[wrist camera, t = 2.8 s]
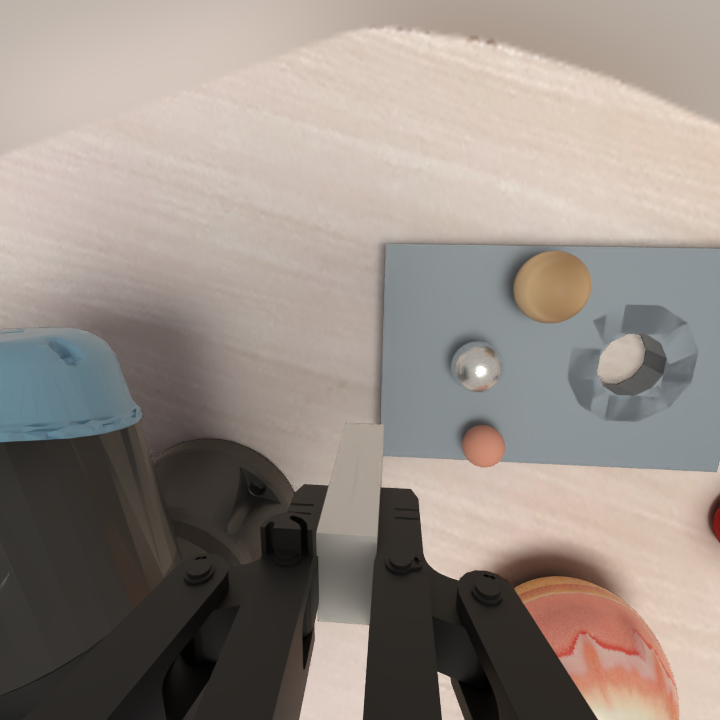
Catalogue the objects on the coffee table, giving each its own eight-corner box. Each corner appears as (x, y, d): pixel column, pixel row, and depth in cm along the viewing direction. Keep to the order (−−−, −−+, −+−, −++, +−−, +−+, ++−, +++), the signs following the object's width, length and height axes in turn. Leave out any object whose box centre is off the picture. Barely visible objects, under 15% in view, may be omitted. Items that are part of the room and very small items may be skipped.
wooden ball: (502, 315, 30) (520, 328, 25) (509, 249, 29) (529, 251, 24) (568, 317, 29) (598, 331, 25) (578, 250, 28) (612, 252, 24)
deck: (380, 441, 36) (379, 455, 33) (386, 243, 31) (385, 243, 29) (693, 455, 34) (716, 472, 32) (745, 248, 30) (776, 249, 27)
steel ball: (446, 382, 31) (452, 399, 28) (449, 335, 30) (456, 347, 27) (494, 384, 31) (507, 401, 28) (499, 337, 30) (513, 349, 27)
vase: (578, 683, 41) (707, 993, 24) (445, 636, 41) (483, 917, 24) (653, 576, 37) (869, 855, 20) (508, 523, 37) (605, 762, 20)
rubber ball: (457, 453, 33) (463, 474, 30) (460, 417, 32) (467, 435, 29) (497, 455, 33) (507, 476, 30) (501, 419, 32) (512, 437, 29)
